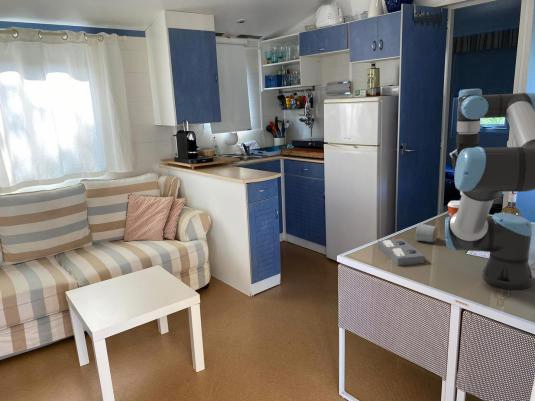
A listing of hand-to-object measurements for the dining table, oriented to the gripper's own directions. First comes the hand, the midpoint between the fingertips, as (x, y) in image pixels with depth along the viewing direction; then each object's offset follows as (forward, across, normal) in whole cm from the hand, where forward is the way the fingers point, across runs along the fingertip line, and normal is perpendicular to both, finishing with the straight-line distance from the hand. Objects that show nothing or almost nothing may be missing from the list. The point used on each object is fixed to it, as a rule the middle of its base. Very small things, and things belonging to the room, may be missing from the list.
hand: (464, 195), depth 157 cm
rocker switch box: (+26, +20, -11) cm, 35 cm away
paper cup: (+27, -16, -30) cm, 43 cm away
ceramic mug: (+27, +2, -24) cm, 36 cm away
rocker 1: (+23, +23, -16) cm, 36 cm away
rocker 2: (+23, +23, -6) cm, 33 cm away
